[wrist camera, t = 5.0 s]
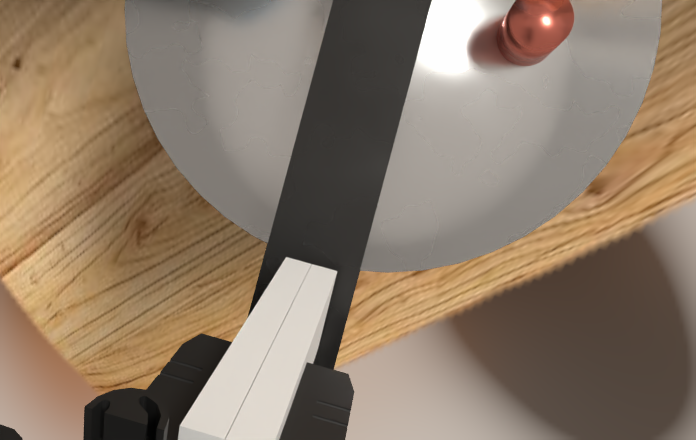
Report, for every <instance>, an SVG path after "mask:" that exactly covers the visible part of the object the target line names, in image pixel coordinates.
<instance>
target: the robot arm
mask: <svg viewBox="0 0 696 440" xmlns="http://www.w3.org/2000/svg"><path fill="white" fill-rule="evenodd" d="M336 275H337V271H335V270H332V269H328V268H324V267H321V266H317V265H313V264H312V265H311V264H310V263H306V262H302V261H299V260H295V259H292V258H288V257H286V258H285V260H284V261H283V263H282V265H281V266H280V268H279V269H278V271H277V272H276V274H275V276H274V277H273V279H272V280H271V282H270V284H269V285H268V287H267V288H266V290H265V291H264V293H263V295H262V296H261V298H260V299H259V301H258V303H257V304H256V306H255V307H254V309H253V310H252V312H251V314H250V315H249V317H248V318H247V320H246V322H245V323H244V325H243V326H242V328H241V329H240V331H239V333H238V334H237V336H236V337H235V339H234V341H233V342H229V341H226V340H222V339H219V338H215V337H212V336H208V335H205V334H200V335H198V336H196V337H194V338H193V339H191V340H189V341H187V342H185V343H184V344H182V346H181V347H180V348H179V349H178V351H177V352H176V353H175V354H174V356H173V357H172V358H171V360H170V362H168V363H167V364H166V366H165V367H164V368H163V370H162V371H161V373H160V375H158V376H157V377H156V378H155V380H154V381H153V382H152V383H151V385H150V386H149V387H148V388H147V390H143V389H135V388H126V389H118V390H113V391H110V392H108V393H105V394H103V395H100V396H98V397H96V398H95V399H94V400H93V401H91V402H90V403H89V404H87V405H86V406H85V410H84V412H85V413H84V440H345V437H346V432H347V426H348V421H349V416H350V410H351V406H352V400H353V395H354V390H353V387H352V384H351V381H350V378H349V375H348V374H346V373H343V372H339V371H336V370H332V369H329V368H325V367H322V366H318V365H315V364H313V362H314V359H315V356H316V353H317V350H318V347H319V343H320V339H321V335H322V331H323V327H324V323H325V319H326V315H327V311H328V307H329V303H330V299H331V295H332V291H333V287H334V283H335V279H336ZM0 440H22V438H21V437H20V435H19V434H18V433H17V432H16V431H15V430H14V429H12V428H9V427H6V426H3V425H0Z"/></svg>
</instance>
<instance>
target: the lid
mask: <svg viewBox="0 0 696 440" xmlns="http://www.w3.org/2000/svg"><path fill="white" fill-rule="evenodd" d="M661 12H662V0H125V25H126V43H127V48H128V54H129V59H130V65H131V70H132V75H133V79H134V82H135V85H136V88H137V91H138V94H139V97H140V100H141V103H142V106H143V109H144V111H145V113H146V115H147V117H148V120H149V122H150V124H151V126H152V128H153V130H154V132H155V134H156V136H157V138H158V140H159V142H160V143H161V145H162V146H163V148H164V149H165V151H166V152H167V154H168V155H169V157H170V158H171V160H172V162H173V163H174V165H175V166H176V168H177V169H178V170H179V171H180V172H181V174H182V175H183V176H184V177H185V178H186V179H187V180H188V182H189V183H190V184H191V185H192V186H193V187H194V189H195V190H196V191H197V192H198V193H199V194H200V195H201V196H202V197H203V198H204V199H205V200H207V201H208V202H209V203H210V204H211V205H212V206H213V207H214V208H216V209H217V210H218V211H219V212H220V213H221V214H222V215H223V216H224V217H226V218H227V219H229V220H230V221H232V222H233V223H235V224H236V225H238V226H239V227H241V228H242V229H244V230H245V231H247V232H248V233H250V234H251V235H252V236H254V237H256V238H258V239H260V240H262V241H264V242H266V243H268V244H267V248H266V251H265V255H264V259H263V262H262V266H261V270H260V274H259V277H258V281H257V285H256V288H255V292H254V296H253V300H252V303H251V307H250V311H249V314H248V317H249V315H250V314H251V312H252V310H253V309H254V307H255V306H256V304H257V303H258V301H259V299H260V298H261V296H262V295H263V293H264V291H265V290H266V288H267V287H268V285H269V284H270V282H271V280H272V279H273V277H274V276H275V274H276V272H277V271H278V269H279V268H280V266H281V265H282V263H283V261H284V260H285V258H286V257H288V258H292V259H295V260H299V261H302V262H306V263H310V264H311V265H312V264H313V265H317V266H321V267H324V268H328V269H332V270H335V271H337V275H336V279H335V283H334V287H333V291H332V295H331V299H330V303H329V307H328V311H327V315H326V319H325V323H324V327H323V331H322V335H321V339H320V343H319V347H318V350H317V353H316V356H315V359H314V362H313V364H315V365H318V366H322V367H325V368H329V369H332V370H333V369H334V366H335V362H336V358H337V354H338V351H339V347H340V343H341V339H342V336H343V332H344V328H345V324H346V321H347V317H348V313H349V309H350V306H351V302H352V298H353V294H354V291H355V287H356V283H357V279H358V276H359V272H360V271H374V272H403V271H419V270H427V269H432V268H437V267H442V266H448V265H453V264H458V263H461V262H464V261H467V260H470V259H473V258H476V257H479V256H482V255H485V254H488V253H491V252H493V251H495V250H497V249H500V248H502V247H504V246H506V245H508V244H510V243H512V242H514V241H516V240H518V239H520V238H522V237H524V236H526V235H527V234H529V233H530V232H532V231H533V230H535V229H536V228H538V227H539V226H541V225H542V224H544V223H545V222H547V221H549V220H550V219H552V218H553V217H555V216H556V215H557V214H558V213H559V212H560V211H562V210H563V209H564V208H565V207H566V206H567V205H568V204H570V203H571V202H572V201H573V200H574V199H575V198H577V197H578V196H579V195H580V194H581V193H582V192H583V191H584V190H585V189H586V188H587V187H588V185H589V184H590V183H591V182H592V181H593V180H594V179H595V177H596V176H597V175H598V174H599V173H600V172H601V171H602V170H603V168H604V167H605V166H606V165H607V163H608V162H609V160H610V159H611V157H612V156H613V154H614V153H615V151H616V150H617V149H618V147H619V146H620V144H621V143H622V141H623V140H624V138H625V137H626V135H627V133H628V131H629V129H630V127H631V125H632V123H633V121H634V119H635V117H636V115H637V113H638V111H639V109H640V107H641V104H642V102H643V99H644V96H645V93H646V90H647V87H648V84H649V81H650V78H651V75H652V72H653V69H654V64H655V59H656V54H657V49H658V43H659V38H660V30H661Z"/></svg>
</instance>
